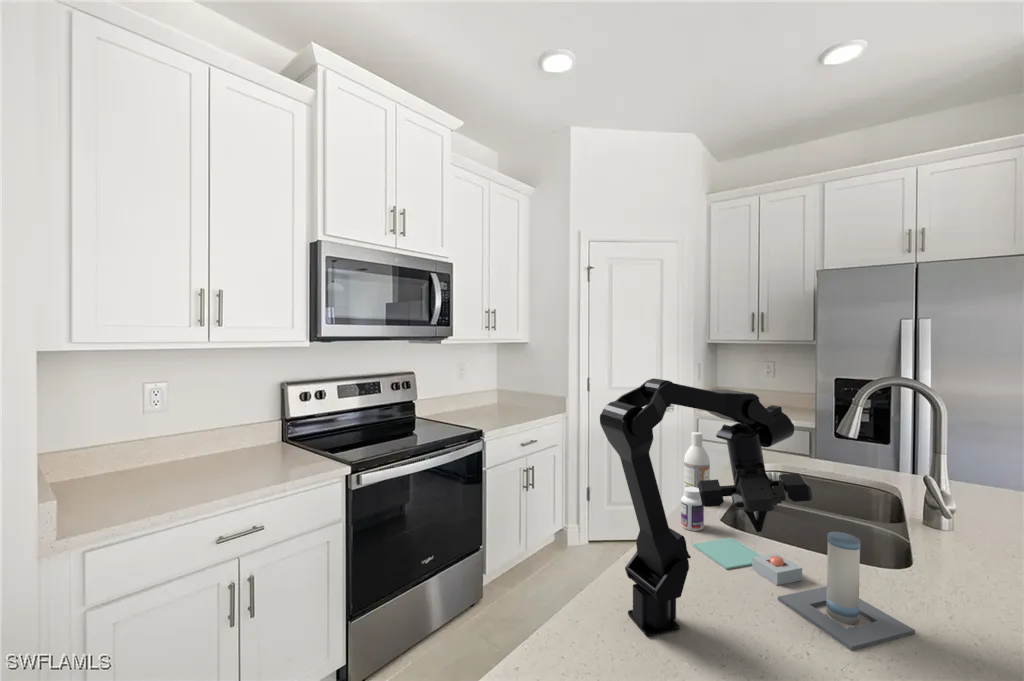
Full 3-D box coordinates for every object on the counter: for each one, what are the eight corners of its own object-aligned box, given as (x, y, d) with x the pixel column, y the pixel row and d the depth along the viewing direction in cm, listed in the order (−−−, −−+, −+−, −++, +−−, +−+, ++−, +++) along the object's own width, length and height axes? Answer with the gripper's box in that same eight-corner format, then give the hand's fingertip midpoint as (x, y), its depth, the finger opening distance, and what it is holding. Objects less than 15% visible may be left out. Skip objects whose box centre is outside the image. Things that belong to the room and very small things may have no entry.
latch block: (777, 585, 91) (777, 572, 91) (752, 569, 97) (752, 557, 97) (802, 580, 93) (802, 567, 92) (776, 564, 99) (776, 553, 98)
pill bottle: (705, 525, 118) (705, 488, 118) (701, 533, 113) (701, 494, 113) (683, 520, 121) (683, 484, 121) (678, 528, 116) (679, 490, 116)
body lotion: (703, 507, 129) (703, 437, 129) (679, 500, 134) (680, 433, 134) (713, 500, 134) (713, 433, 134) (690, 494, 139) (690, 429, 139)
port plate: (851, 650, 73) (851, 646, 73) (777, 599, 86) (777, 596, 86) (914, 633, 76) (915, 629, 76) (834, 587, 90) (834, 584, 90)
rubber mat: (726, 569, 97) (726, 567, 97) (692, 545, 107) (692, 543, 107) (768, 561, 100) (768, 560, 100) (731, 539, 110) (731, 537, 110)
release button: (776, 574, 93) (776, 562, 93) (767, 568, 95) (767, 556, 95) (786, 572, 94) (786, 560, 94) (776, 566, 96) (776, 555, 96)
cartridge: (845, 626, 78) (846, 545, 78) (819, 610, 83) (821, 533, 82) (865, 621, 80) (867, 542, 79) (839, 605, 84) (840, 530, 84)
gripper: (697, 478, 82) (712, 558, 84) (816, 469, 76) (829, 555, 78) (692, 453, 93) (705, 524, 95) (796, 443, 87) (808, 519, 89)
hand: (758, 531), depth 89 cm, fingers closed
